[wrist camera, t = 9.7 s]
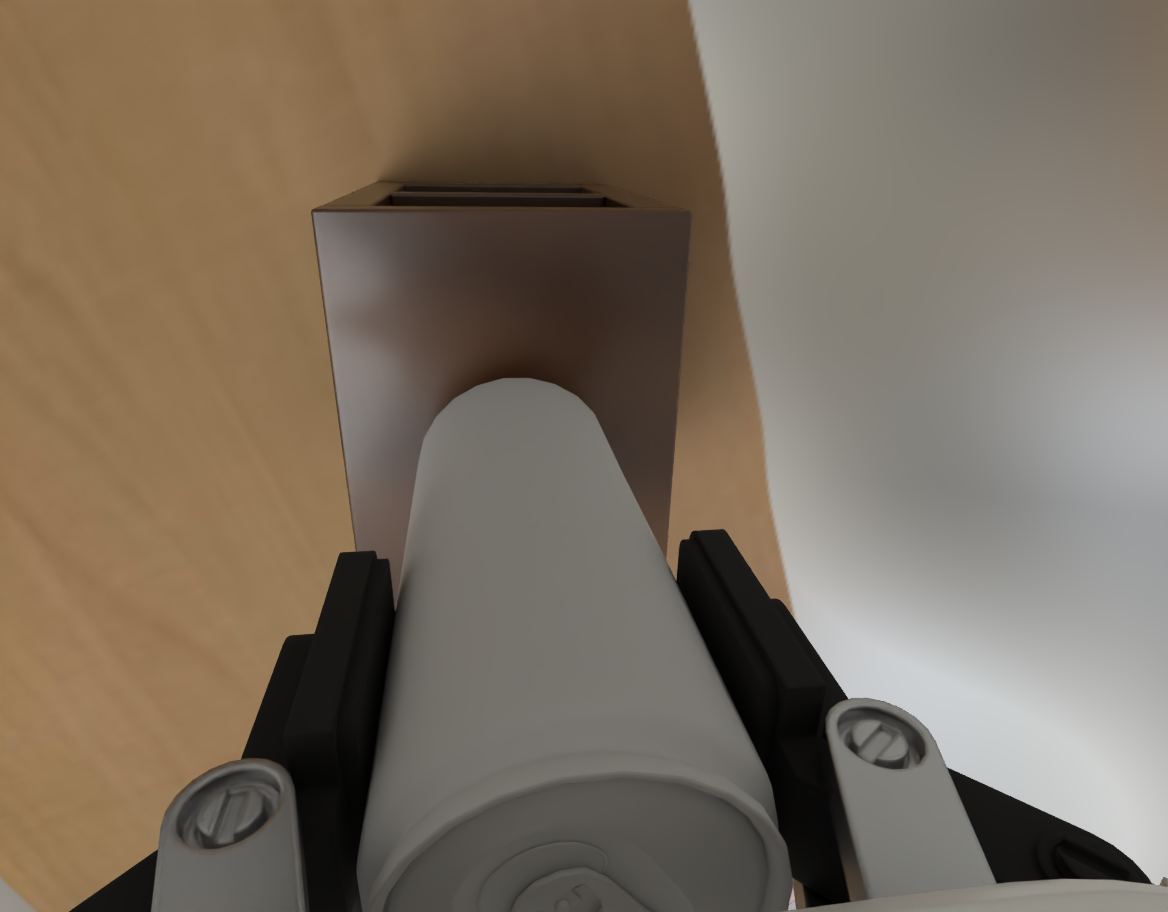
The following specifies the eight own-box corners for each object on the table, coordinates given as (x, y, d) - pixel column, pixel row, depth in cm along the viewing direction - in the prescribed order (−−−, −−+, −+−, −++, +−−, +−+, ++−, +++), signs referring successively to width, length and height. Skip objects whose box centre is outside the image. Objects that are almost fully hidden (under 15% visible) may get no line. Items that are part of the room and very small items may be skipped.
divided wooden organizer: (374, 181, 27) (309, 208, 16) (607, 184, 28) (693, 211, 17) (401, 467, 32) (366, 637, 21) (598, 458, 33) (662, 614, 22)
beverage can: (532, 330, 17) (649, 672, 6) (642, 470, 19) (878, 916, 8) (378, 448, 17) (233, 949, 7) (500, 571, 19) (542, 1113, 9)
